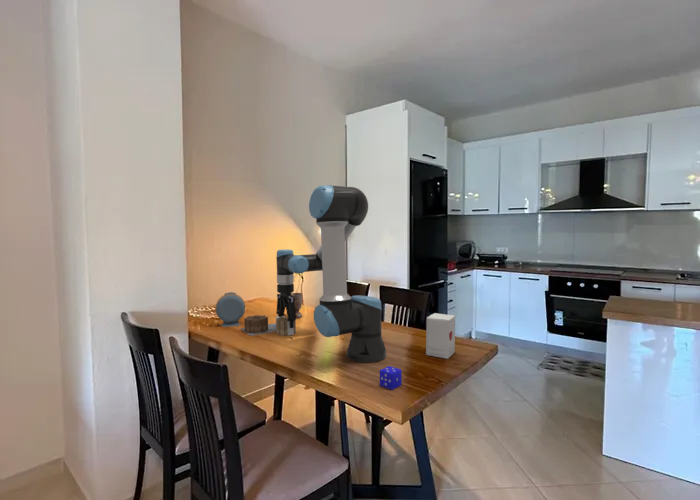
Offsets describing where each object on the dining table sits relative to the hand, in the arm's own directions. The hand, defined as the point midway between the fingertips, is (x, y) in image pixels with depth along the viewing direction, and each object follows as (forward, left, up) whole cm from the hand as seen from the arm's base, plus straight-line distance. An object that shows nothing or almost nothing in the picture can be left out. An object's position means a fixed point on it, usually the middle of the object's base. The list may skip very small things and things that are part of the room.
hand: (286, 332), depth 173 cm
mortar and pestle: (+30, -18, -2) cm, 35 cm away
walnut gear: (+12, +9, 0) cm, 16 cm away
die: (-69, -4, -2) cm, 69 cm away
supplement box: (-58, -39, -2) cm, 70 cm away
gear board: (+12, +4, -2) cm, 13 cm away
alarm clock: (+30, +16, -2) cm, 34 cm away
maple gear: (0, 0, -2) cm, 2 cm away
